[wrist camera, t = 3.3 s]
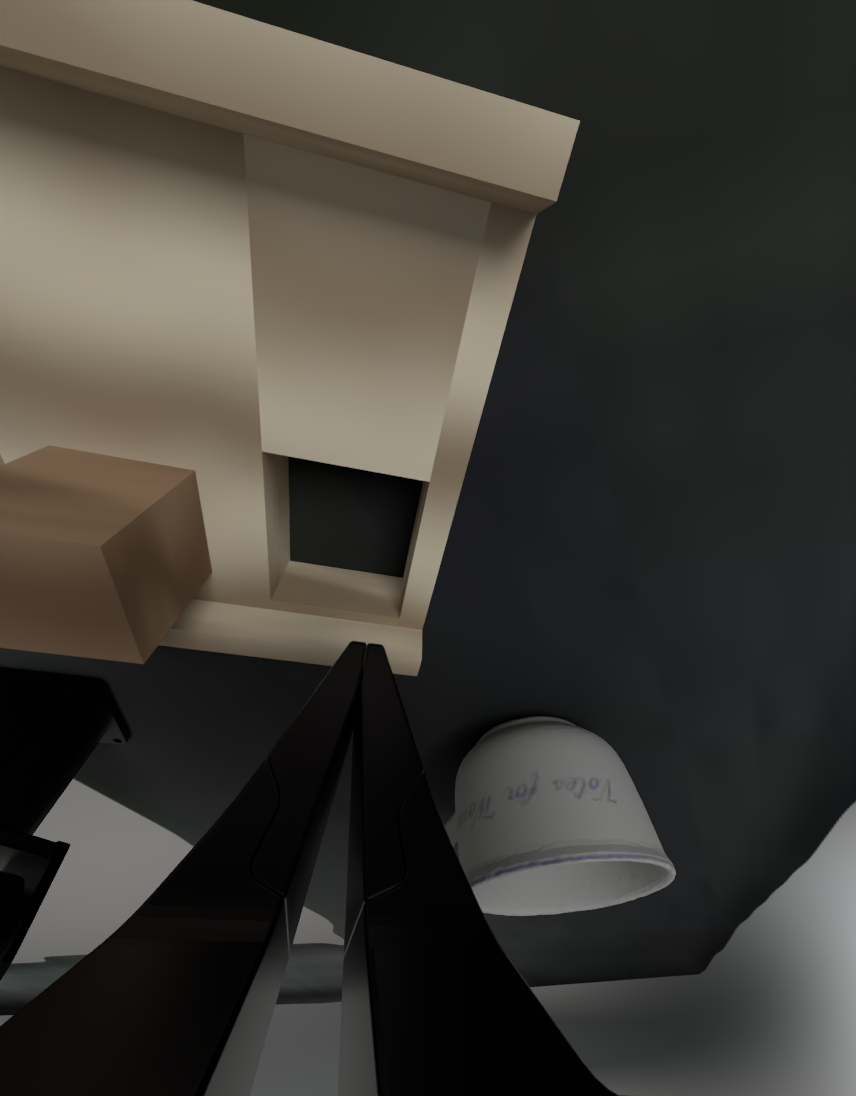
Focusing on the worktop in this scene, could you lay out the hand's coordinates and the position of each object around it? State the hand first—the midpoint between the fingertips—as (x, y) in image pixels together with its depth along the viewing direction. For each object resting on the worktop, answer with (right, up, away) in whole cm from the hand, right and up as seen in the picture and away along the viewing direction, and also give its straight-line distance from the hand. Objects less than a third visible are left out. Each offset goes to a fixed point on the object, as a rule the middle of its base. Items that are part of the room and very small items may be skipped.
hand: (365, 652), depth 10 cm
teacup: (+7, -11, +16) cm, 21 cm away
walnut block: (-8, +4, +3) cm, 9 cm away
